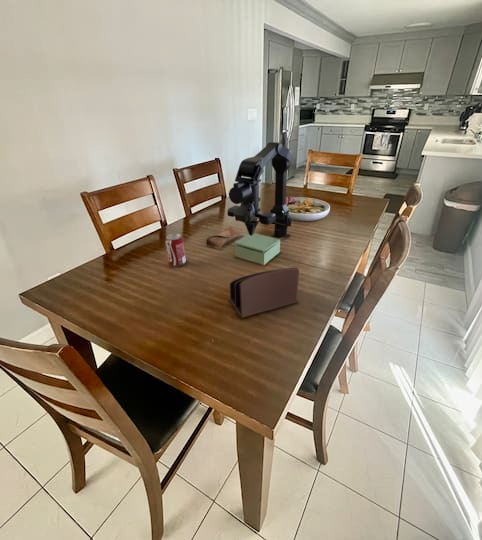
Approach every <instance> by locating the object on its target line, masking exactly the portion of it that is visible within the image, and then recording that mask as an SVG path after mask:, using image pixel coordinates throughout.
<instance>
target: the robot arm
mask: <svg viewBox="0 0 482 540" xmlns="http://www.w3.org/2000/svg"><path fill="white" fill-rule="evenodd" d="M293 156H294V155H293V152H292V151H291V149H289V148H288V147H286V146H284V145H283V144H282V143H280V142H276V141H270V142H268V143H267V144H266V145H265V146H264V147H263V148H262V149H261V150H260V151H259V152H258V153H256V154H255V155H254V156H252V157H247V158H245V159H243V160H242V161H241V162H240V164H239V166H238V169H237V173H236V175H235V179H234V182H233V184H232V185H233V187H231V188H230V189H229V192H228V198H229V200H230V201H231V203H232V204H235V205H232V206H231V207H228V209H227V211H226V213H227V217H230V218H231V217H232V218H234V219H235V221H236V222H242V223H244V225H245V227H246V229H247V233H248V235H250V236H252V235H253V233H255V231H256V228H257V226H258V225H259V223H260V224H262V225H266V226H269V225H274V231H273V232H274V233H273V238H276V239H280V238H288V237H289V236H290V233H288V228H289V227H292V222H293V220H292V219H291V217H290V215H289V209H288V207H287V206H286V197H287V181H288V180H287V178H288V170H289V169H290V167H291V166H292V161H293V158H294V157H293ZM270 162H271V166H272V169H273V171H274V172H275V173H274V174H275V175H274V177H275V179H274V180H275V181H274V182H275V183H274V205H273V206H272V208H271V209H270V211H265V212H264V213H260V212H261V208H260V206H259V205H260V204H259V202H261V197H260V195H259V194H260V190H259V189H260V183H261V182H262V178H261V176H262V174H263V173H264V168H265V166H266V165H268V164H269V163H270Z"/></svg>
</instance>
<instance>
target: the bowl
mask: <svg viewBox="0 0 482 540" xmlns="http://www.w3.org/2000/svg"><path fill="white" fill-rule="evenodd" d="M286 206H287V207H288V209H289V215H290V217H291V219H292V221H296V222H298V221H299V222H313V221H318V220H321V219H323V218H325V217H327V216H328V214H329V213H330V210H331V205H330V204H329V203H328V202H326V201H323V200H321V199H318V198H312V197H304V196H303V197H299V196H298V197H294V196H292V195H291V196H286Z"/></svg>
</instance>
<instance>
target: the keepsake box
mask: <svg viewBox="0 0 482 540" xmlns="http://www.w3.org/2000/svg"><path fill="white" fill-rule="evenodd" d="M234 252H235V257H237V258H240V259H242V260H246V261H250V262H253V263H257V264H260V265H262V266H265V265H266V264H267V263H268V262H270V261H271V260H272V259H273V258H274V257H275V256H277V255H278V254H279V253H280V252H281V241H280V242H278V243H277V244H275V245H274V246H272V247H271V248H269V249H268V250H266V251H265V252H264V253H263V252H260V251H256V250H252V249H249V248H246V247H244V246H240V245H236V244H234Z"/></svg>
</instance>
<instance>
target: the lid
mask: <svg viewBox="0 0 482 540" xmlns="http://www.w3.org/2000/svg"><path fill="white" fill-rule="evenodd" d="M278 242H280V243H281V239H280V238H277V237H272V236H268V235H265V234H259V233H255V232H254V233H253V235H252V236H250V235H249V234H247V235H246V236H244V237H243V236H242V237H241V238H240V239H237V240H236V241H234V243H233V245H240V246H244V247H247V248H251V249H254V250H258V251H261V252H264V251H266V250H267V249H269V248H271V247H272V246H274V245H275V244H277V243H278Z"/></svg>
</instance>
